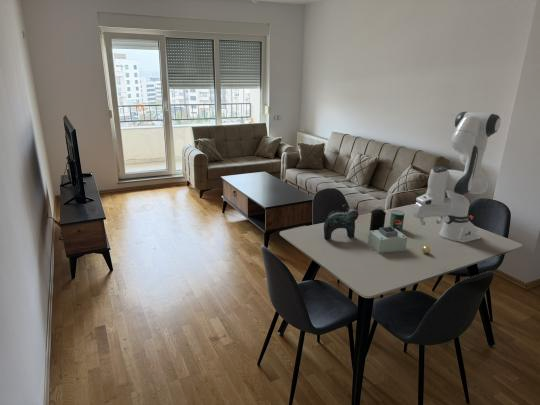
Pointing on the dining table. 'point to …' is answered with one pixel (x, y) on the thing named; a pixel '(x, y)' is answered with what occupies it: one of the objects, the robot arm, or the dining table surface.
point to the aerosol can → (377, 219)
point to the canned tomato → (397, 220)
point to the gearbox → (387, 240)
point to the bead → (426, 250)
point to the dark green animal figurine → (341, 222)
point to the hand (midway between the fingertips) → (430, 224)
